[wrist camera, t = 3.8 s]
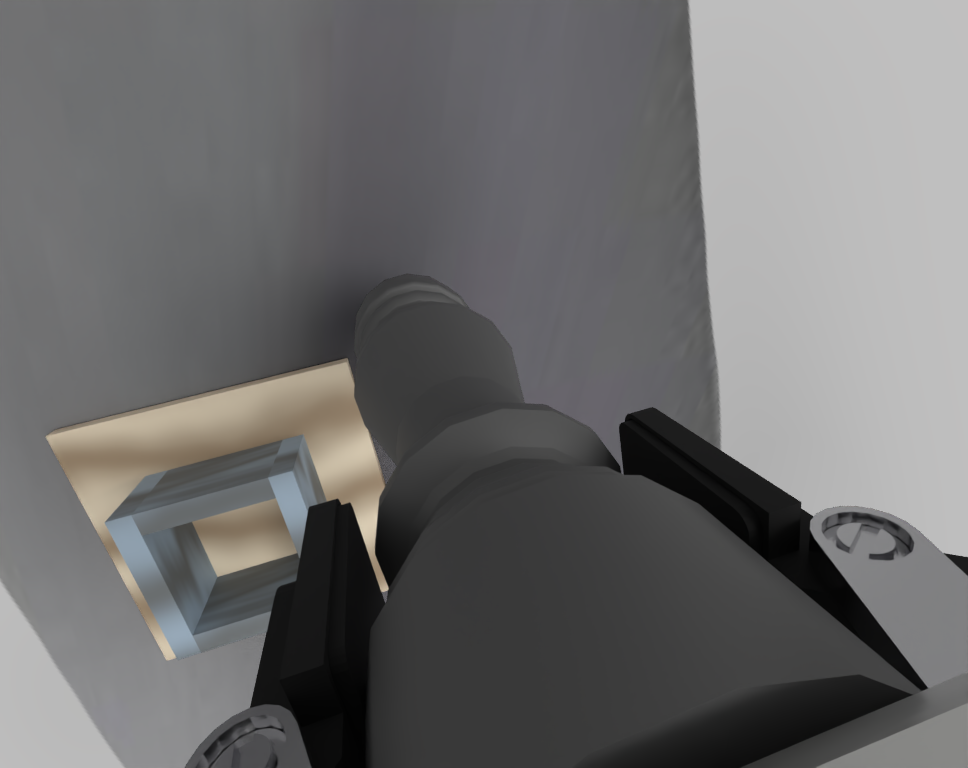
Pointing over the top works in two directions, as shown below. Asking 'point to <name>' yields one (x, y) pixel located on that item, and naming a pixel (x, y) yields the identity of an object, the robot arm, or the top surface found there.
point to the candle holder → (565, 582)
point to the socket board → (222, 496)
